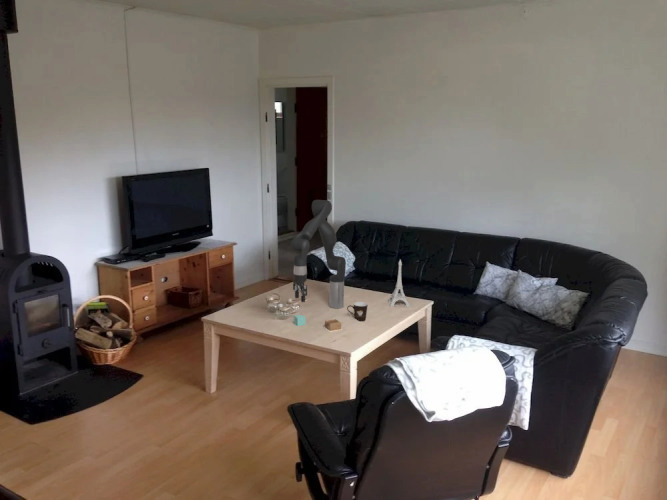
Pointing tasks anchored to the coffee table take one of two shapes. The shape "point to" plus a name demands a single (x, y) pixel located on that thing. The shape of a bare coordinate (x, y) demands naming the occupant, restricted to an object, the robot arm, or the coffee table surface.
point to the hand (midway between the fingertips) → (299, 299)
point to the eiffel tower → (396, 295)
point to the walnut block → (333, 325)
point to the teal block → (299, 320)
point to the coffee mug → (359, 311)
